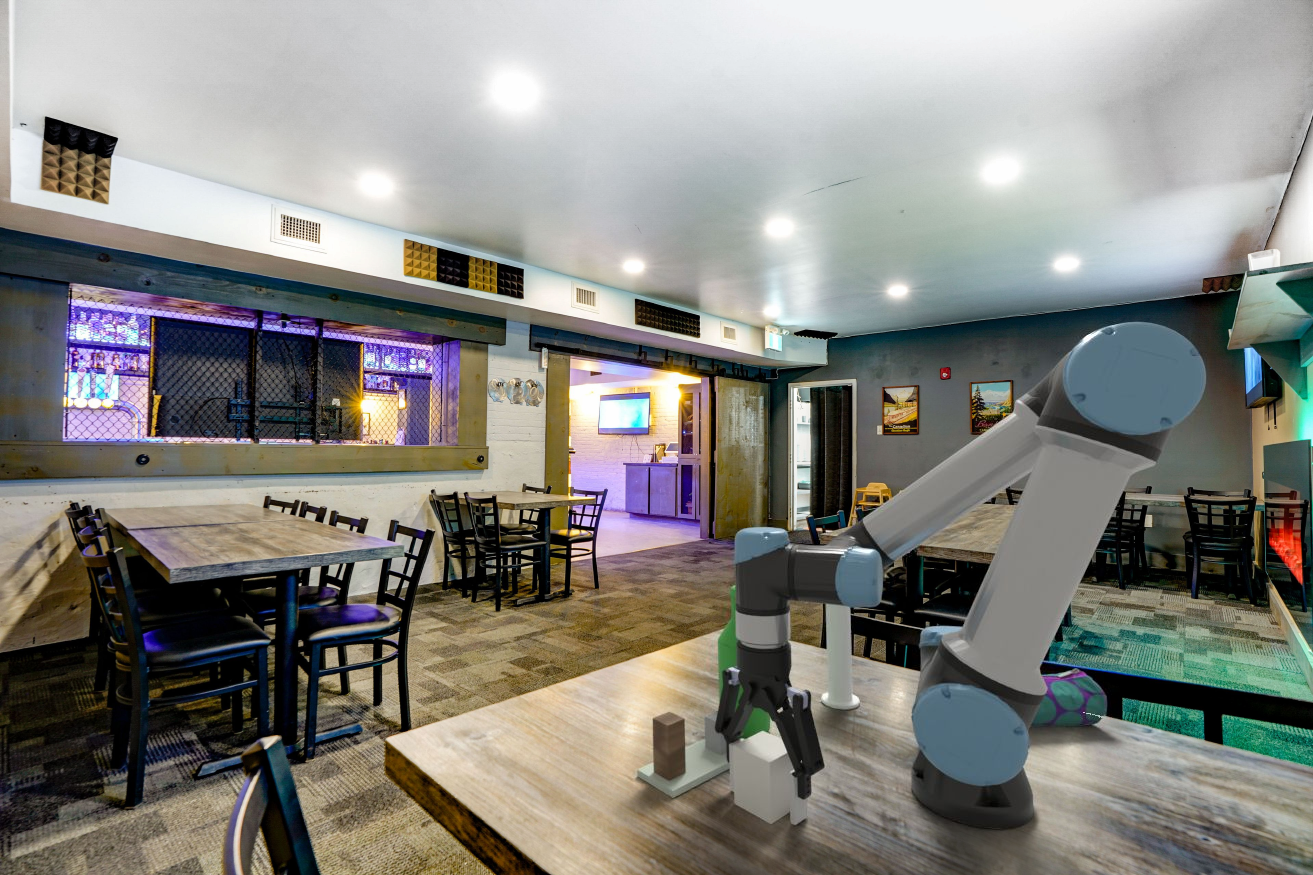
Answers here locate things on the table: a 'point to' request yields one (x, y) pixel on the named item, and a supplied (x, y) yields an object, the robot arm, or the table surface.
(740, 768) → the white square column
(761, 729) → the bottle
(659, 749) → the tall post
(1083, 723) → the pencil case
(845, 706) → the candle
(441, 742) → the table surface
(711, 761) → the rack
